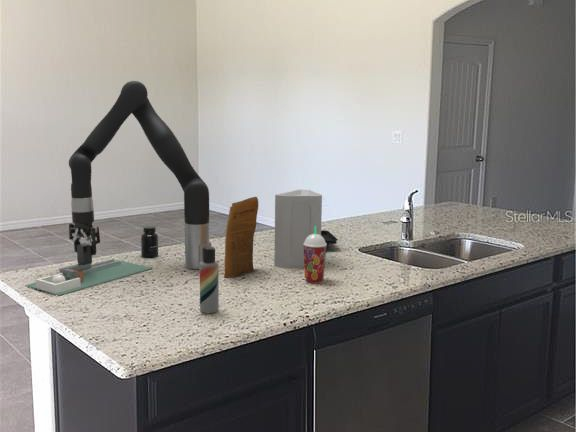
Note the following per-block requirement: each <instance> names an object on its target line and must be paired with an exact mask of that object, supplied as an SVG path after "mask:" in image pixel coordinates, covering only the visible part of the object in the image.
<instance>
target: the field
mask: <svg viewBox="0 0 576 432" xmlns="http://www.w3.org/2000/svg"><path fill="white" fill-rule="evenodd" d="M120 261H121V265H118V266H114V267H111V268H107V269H103V270H99V271H96V272H92V273H88V274H85V275H84V281H82V282H80V284H81V287H78V288H74V289H71V290H67V291H64V292H60V293H57V294H54V293H51V292H48V291H45V292H44V293H46V292H47V293H46V294H49V293H51V294H50V295H53V294H54V296H56V295H57V297H60V295H61V296H65V295H68V294H71V293H74V292H78V291H82V290H85V289H88V288H91V287H95V286H99V285H102V284H105V283H109V282H112V281H116V280H119V279H122V278H126V277H129V276H130V277H131V276H133V275H137V274H140V273H144V272H146V271H150V270H153V267H150V266H146V265H143V264H137V263H133V262H129V261H124V260H120ZM72 279H74V277H73V278H70V279H66V281H68V280H72ZM27 286H28V288H30V287H31V289H33V288H35V289H34V290H36V289H38V288H36V281H35V282H33V283H28V284H25V287H27ZM40 290H41V289H38V290H37V291H40ZM43 291H44V290H41V292H43ZM64 294H65V295H64Z"/></svg>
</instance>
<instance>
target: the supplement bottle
mask: <svg viewBox="0 0 576 432" xmlns="http://www.w3.org/2000/svg"><path fill="white" fill-rule="evenodd" d="M156 228H157V227H155V226H154V225H153V226H150V225H149V226H148V225H147V226H144V227H143V233H142V234H141V235H140V253H141V254H140V255H141V257H142V258H144V259H145V258H146V259H147V258H148V259H153V258H157V257H158V256H159V234H157V233H156V232H157V229H156Z"/></svg>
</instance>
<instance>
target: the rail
mask: <svg viewBox="0 0 576 432" xmlns="http://www.w3.org/2000/svg"><path fill="white" fill-rule="evenodd" d="M121 261H122V260H115V258H112V259H108V260H104V261H103V260H102V261H100V262H94V263H91V265H92V268H89V269H85V270H81V271H83V273H84V275H85V274H88V273H92V272H96V271H99V270H103V269H107V268H111V267H114V266H118V265H121ZM59 273H60V272H57V273H53V274H50V275H49V276H51V275H55V274H59ZM63 276H64V277H65V279H70V278H73V277H74V276H71V275H68V274H65V275H63Z"/></svg>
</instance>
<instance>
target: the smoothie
mask: <svg viewBox="0 0 576 432" xmlns="http://www.w3.org/2000/svg"><path fill="white" fill-rule="evenodd" d="M326 245H327V243H326V242H325V240H324V238H323V237H322V236H321V235H319V234H316V226H314V234H311V235H309V236H308V237H307V238H306V239H305V241H304V243H303V247H304V269H303V270H304V271H303V272H304V278H305V281H306V282H307V283H310V284H319V283H322V282H323V279H324V275H325V266H326V254H327V246H326Z"/></svg>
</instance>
